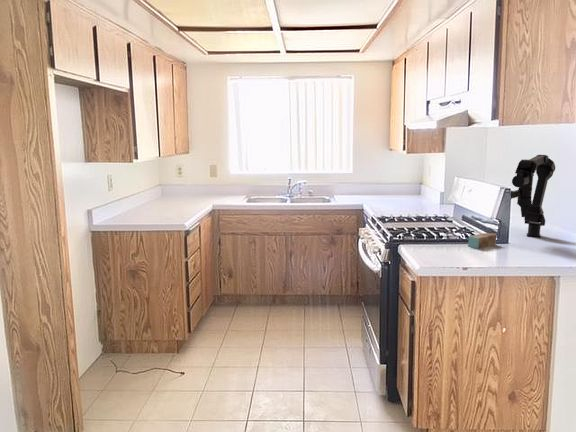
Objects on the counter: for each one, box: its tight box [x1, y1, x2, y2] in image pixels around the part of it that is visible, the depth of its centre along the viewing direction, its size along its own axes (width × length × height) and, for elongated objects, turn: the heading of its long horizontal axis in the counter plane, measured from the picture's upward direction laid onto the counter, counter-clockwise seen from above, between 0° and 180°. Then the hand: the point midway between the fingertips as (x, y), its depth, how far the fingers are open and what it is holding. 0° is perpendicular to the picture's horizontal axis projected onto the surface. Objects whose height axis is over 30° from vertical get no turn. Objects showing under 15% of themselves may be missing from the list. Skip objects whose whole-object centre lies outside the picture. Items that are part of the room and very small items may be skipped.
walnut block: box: [467, 232, 497, 250], centre depth 238 cm, size 5×5×14 cm
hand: (522, 217), depth 247 cm, fingers closed
